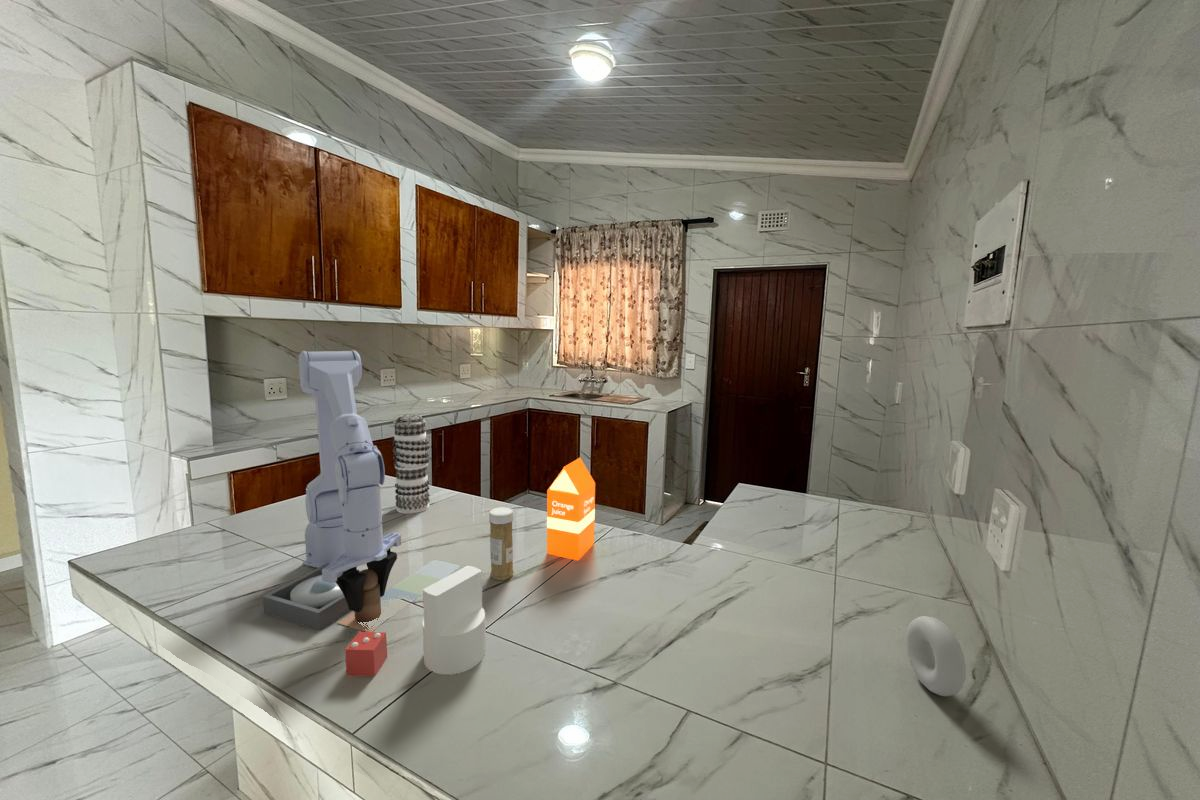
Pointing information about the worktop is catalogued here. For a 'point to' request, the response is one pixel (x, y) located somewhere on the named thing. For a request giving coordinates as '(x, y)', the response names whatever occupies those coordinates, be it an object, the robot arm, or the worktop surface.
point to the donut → (935, 656)
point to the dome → (315, 592)
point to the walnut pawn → (370, 598)
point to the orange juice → (571, 512)
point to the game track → (409, 587)
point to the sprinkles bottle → (501, 543)
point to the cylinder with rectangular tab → (454, 622)
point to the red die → (366, 654)
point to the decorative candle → (411, 464)
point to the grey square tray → (299, 613)
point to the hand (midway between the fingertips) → (367, 602)
